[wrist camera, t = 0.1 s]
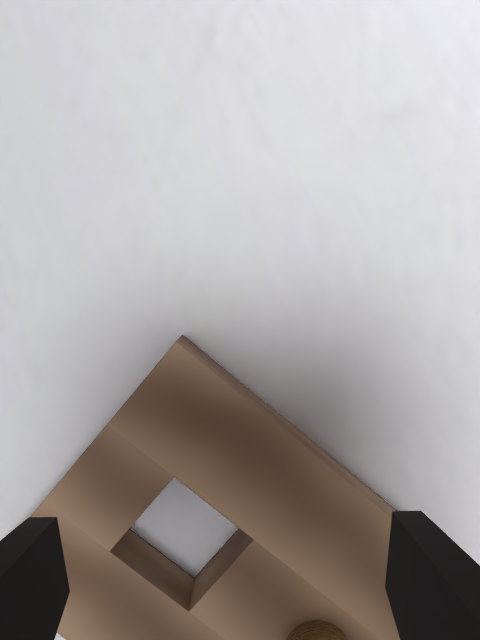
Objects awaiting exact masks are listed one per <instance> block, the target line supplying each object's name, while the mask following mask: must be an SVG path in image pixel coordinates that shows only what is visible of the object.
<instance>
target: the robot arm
mask: <svg viewBox="0 0 480 640" xmlns="http://www.w3.org/2000/svg"><path fill="white" fill-rule="evenodd" d="M385 589H386V592H387V596H388V599H389V603H390V607H391V610H392V614H393V617H394V620H395V624H396V627H397V630H398V634H399V637H400V640H480V566H479V565H478V564H477V563H476V562H475V561H474V560H473V559H472V558H471V557H470V556H469V555H468V554H467V553H465V552H464V551H463V550H462V549H461V548H460V547H459V546H458V545H457V544H456V543H455V542H454V541H453V540H452V539H451V538H449V537H448V536H447V535H446V534H445V533H444V532H443V531H442V530H441V529H440V528H439V527H438V526H437V525H436V524H435V523H434V522H432V521H431V520H430V519H429V518H428V517H427V516H426V515H425V514H424V513H423V512H422V511H392V520H391V530H390V540H389V550H388V560H387V570H386V580H385ZM69 593H70V589H69V583H68V577H67V571H66V566H65V560H64V554H63V548H62V543H61V537H60V531H59V525H58V519H57V517H29V518H28V519H26V520H25V521H24V522H23V523H21V524H20V525H19V526H18V527H16V528H15V529H14V530H13V531H12V532H10V533H9V534H8V535H7V536H6V537H4V538H3V539H2V540H1V541H0V640H54V638H55V636H56V633H57V630H58V627H59V624H60V621H61V618H62V615H63V612H64V609H65V605H66V602H67V599H68V596H69Z"/></svg>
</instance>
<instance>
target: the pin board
mask: <svg viewBox="0 0 480 640" xmlns="http://www.w3.org/2000/svg"><path fill="white" fill-rule="evenodd" d="M173 477H175V478H176V479H177V480H179V481H180V482H181V483H183V484H184V485H185V486H186V487H188V488H189V489H190V490H191V491H193V492H194V493H195V494H197V495H198V496H199V497H200V498H202V499H203V500H204V501H205V502H207V503H208V504H209V505H211V506H212V507H213V508H214V509H216V510H217V511H218V512H219V513H221V514H222V515H223V516H224V517H226V518H227V519H228V520H230V521H231V522H232V523H233V524H235V525H236V526H237V527H238V528H239V529H238V530H237V531H236V532H235V533H234V535H233V536H232V537H231V538H230V539H229V540H228V541H227V542H226V544H225V545H224V546H223V547H222V548H221V549H220V550H219V551H218V553H217V554H216V555H215V556H214V557H213V558H212V559H211V560H210V561H209V563H208V564H207V565H206V566H205V567H204V568H203V569H202V570H201V572H200V573H199V574H198V575H197V576H196V577H195V578H192V577H191V576H190V575H189V574H187V573H186V572H185V571H183V570H182V569H181V568H179V567H178V566H177V565H175V564H174V563H173V562H172V561H170V560H169V559H168V558H166V557H165V556H164V555H162V554H161V553H160V552H159V551H157V550H156V549H155V548H153V547H152V546H151V545H149V544H148V543H147V542H146V541H144V540H143V539H142V538H140V537H139V536H138V535H136V534H135V533H134V532H133V531H131V530H130V529H129V528H130V527H131V526H132V525H133V524H134V522H135V521H136V520H137V519H138V518H139V517H140V515H141V514H142V513H143V512H144V511H145V510H146V509H147V507H148V506H149V505H150V504H151V503H152V502H153V500H154V499H155V498H156V497H157V496H158V495H159V493H160V492H161V491H162V490H163V489H164V488H165V487H166V485H167V484H168V483H169V482H170V481H171V480H172V478H173ZM392 511H397V510H395V509H394V508H393V507H392V506H390V505H389V504H388V503H387V502H386V501H384V500H383V499H382V498H381V497H379V496H378V495H377V494H376V493H375V492H373V491H372V490H371V489H370V488H368V487H367V486H366V485H365V484H364V483H362V482H361V481H360V480H359V479H357V478H356V477H355V476H354V475H353V474H351V473H350V472H349V471H348V470H347V469H345V468H344V467H343V466H342V465H340V464H339V463H338V462H337V461H336V460H334V459H333V458H332V457H331V456H329V455H328V454H327V453H326V452H325V451H323V450H322V449H321V448H320V447H318V446H317V445H316V444H315V443H314V442H312V441H311V440H310V439H309V438H308V437H306V436H305V435H304V434H303V433H301V432H300V431H299V430H298V429H297V428H295V427H294V426H293V425H292V424H290V423H289V422H288V421H287V420H286V419H284V418H283V417H282V416H281V415H279V414H278V413H277V412H276V411H275V410H273V409H272V408H271V407H270V406H268V405H267V404H266V403H265V402H264V401H262V400H261V399H260V398H259V397H258V396H256V395H255V394H254V393H253V392H251V391H250V390H249V389H248V388H247V387H245V386H244V385H243V384H242V383H240V382H239V381H238V380H237V379H236V378H234V377H233V376H232V375H231V374H229V373H228V372H227V371H226V370H225V369H223V368H222V367H221V366H220V365H219V364H217V363H216V362H215V361H214V360H212V359H211V358H210V357H209V356H208V355H206V354H205V353H204V352H203V351H201V350H200V349H199V348H198V347H197V346H195V345H194V344H193V343H192V342H190V341H189V340H188V339H187V338H186V337H184V336H183V335H182V336H181V337H180V338H179V339H178V340H177V341H176V342H175V344H174V345H173V346H172V347H171V348H170V350H169V351H168V352H167V353H166V354H165V356H164V357H163V358H162V359H161V360H160V362H159V363H158V364H157V365H156V366H155V368H154V369H153V370H152V371H151V372H150V374H149V375H148V376H147V377H146V378H145V380H144V381H143V382H142V383H141V384H140V386H139V387H138V388H137V389H136V391H135V392H134V393H133V394H132V395H131V397H130V398H129V399H128V400H127V401H126V403H125V404H124V405H123V406H122V407H121V409H120V410H119V411H118V412H117V413H116V415H115V416H114V417H113V418H112V419H111V421H110V422H109V423H108V424H107V425H106V427H105V428H104V429H103V430H102V431H101V433H100V434H99V435H98V436H97V437H96V439H95V440H94V441H93V442H92V443H91V445H90V446H89V447H88V448H87V449H86V451H85V452H84V453H83V454H82V455H81V457H80V458H79V459H78V460H77V461H76V463H75V464H74V465H73V466H72V467H71V469H70V470H69V471H68V472H67V474H66V475H65V476H64V477H63V478H62V480H61V481H60V482H59V483H58V484H57V486H56V487H55V488H54V489H53V490H52V492H51V493H50V494H49V495H48V496H47V498H46V499H45V500H44V501H43V502H42V504H41V505H40V506H39V507H38V508H37V510H36V511H35V512H34V513H33V514H32V516H31V517H57V519H58V525H59V531H60V537H61V543H62V548H63V554H64V560H65V566H66V571H67V577H68V583H69V589H70V593H69V596H68V599H67V602H66V605H65V609H64V612H63V615H62V618H61V621H60V624H59V627H58V630H57V633H58V634H59V635H61V636H62V637H64V638H65V639H66V640H400V637H399V634H398V630H397V627H396V624H395V620H394V617H393V614H392V610H391V607H390V603H389V599H388V596H387V592H386V589H385V580H386V570H387V560H388V550H389V540H390V530H391V520H392Z"/></svg>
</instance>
